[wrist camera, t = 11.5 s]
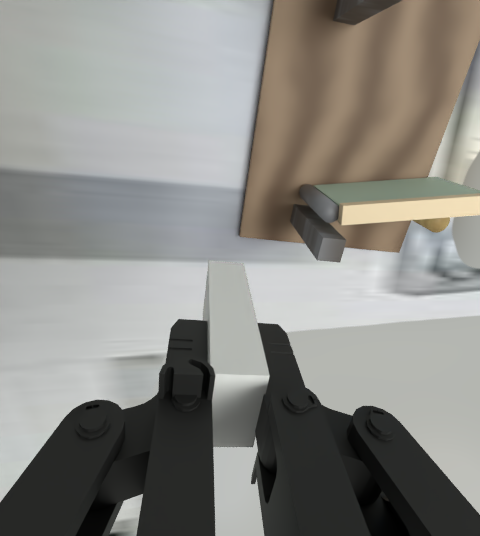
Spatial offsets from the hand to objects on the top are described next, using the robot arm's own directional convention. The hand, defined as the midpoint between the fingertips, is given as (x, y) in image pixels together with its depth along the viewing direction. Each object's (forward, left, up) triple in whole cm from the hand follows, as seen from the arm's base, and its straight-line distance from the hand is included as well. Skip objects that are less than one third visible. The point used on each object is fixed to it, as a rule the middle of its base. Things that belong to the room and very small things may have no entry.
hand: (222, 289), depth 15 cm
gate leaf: (+20, 0, -28) cm, 34 cm away
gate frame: (+16, +7, -29) cm, 34 cm away
